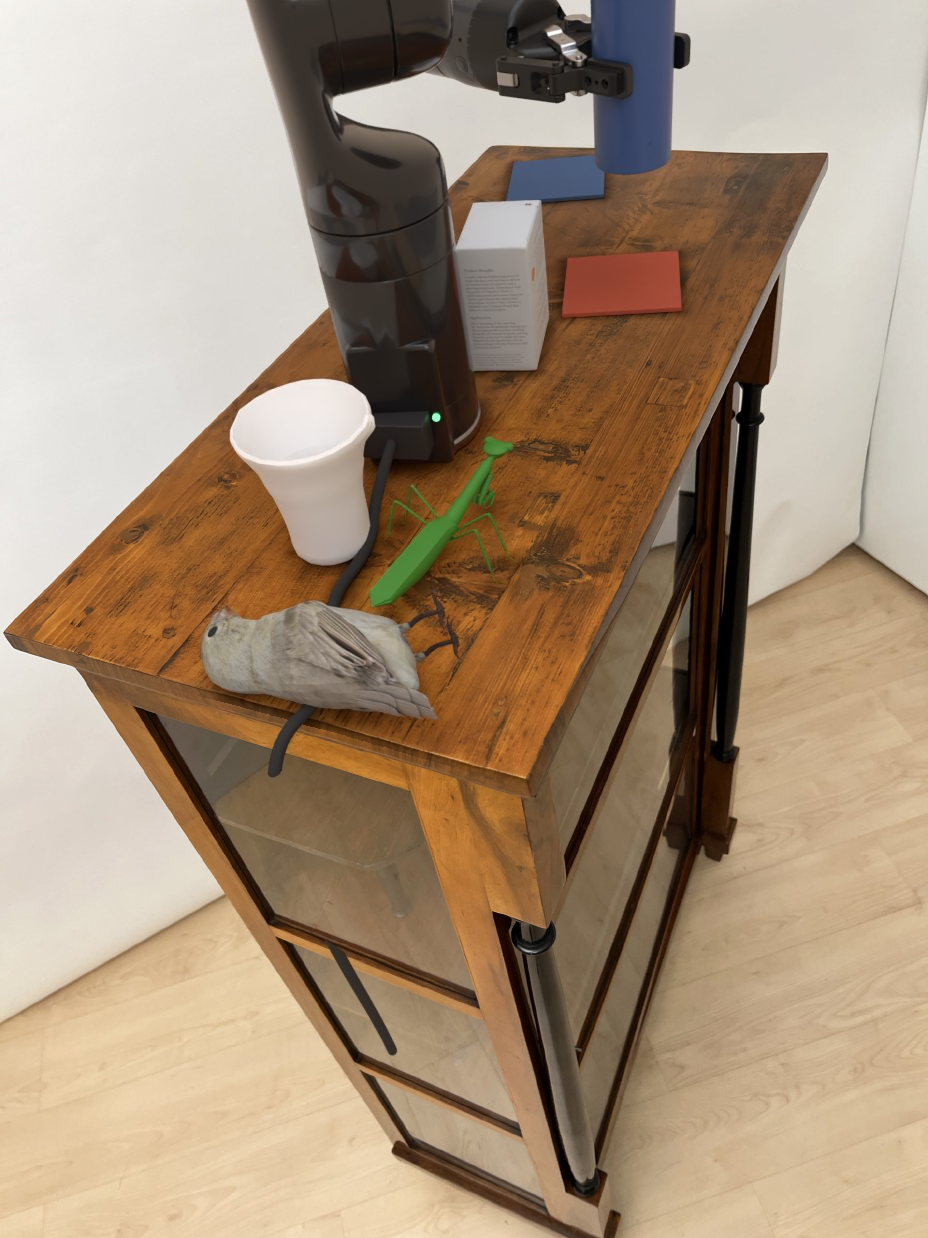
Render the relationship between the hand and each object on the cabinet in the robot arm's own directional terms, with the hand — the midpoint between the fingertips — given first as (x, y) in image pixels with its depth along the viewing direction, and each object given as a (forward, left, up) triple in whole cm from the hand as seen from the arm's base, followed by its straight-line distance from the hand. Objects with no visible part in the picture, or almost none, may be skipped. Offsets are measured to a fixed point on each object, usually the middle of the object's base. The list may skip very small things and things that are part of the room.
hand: (658, 66), depth 69 cm
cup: (-31, +22, -18) cm, 42 cm away
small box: (-7, +12, -18) cm, 23 cm away
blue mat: (+25, +10, -18) cm, 32 cm away
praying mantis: (-33, +14, -18) cm, 40 cm away
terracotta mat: (+2, +3, -18) cm, 18 cm away
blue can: (+2, +2, -7) cm, 7 cm away
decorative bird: (-42, +12, -14) cm, 46 cm away
